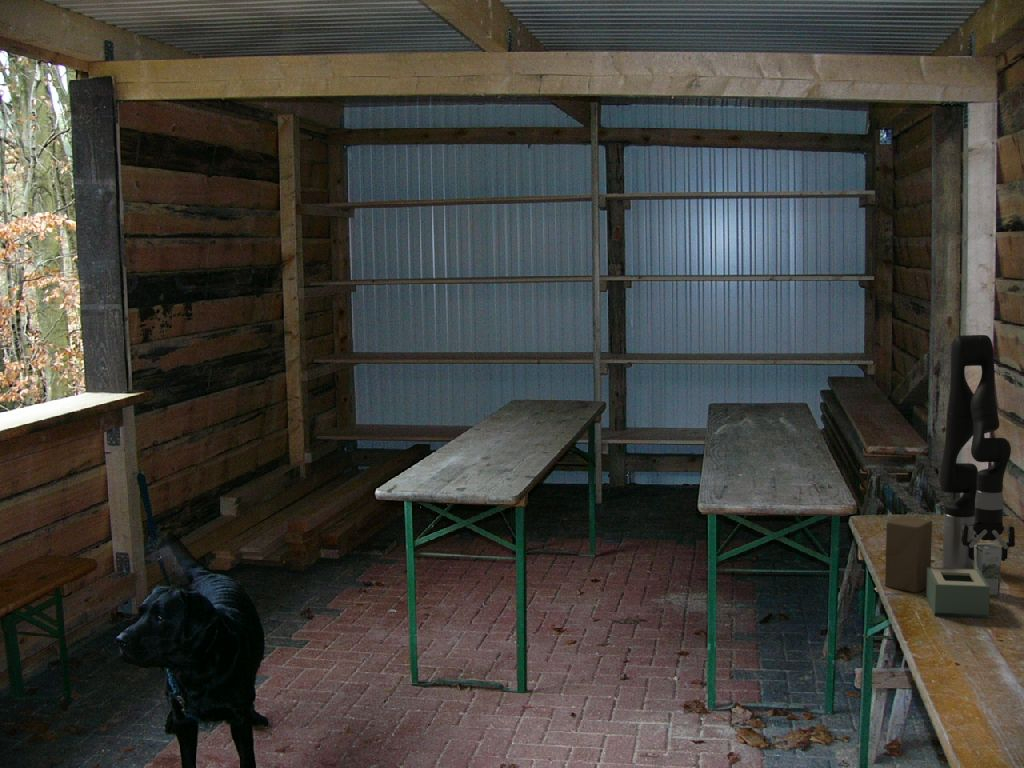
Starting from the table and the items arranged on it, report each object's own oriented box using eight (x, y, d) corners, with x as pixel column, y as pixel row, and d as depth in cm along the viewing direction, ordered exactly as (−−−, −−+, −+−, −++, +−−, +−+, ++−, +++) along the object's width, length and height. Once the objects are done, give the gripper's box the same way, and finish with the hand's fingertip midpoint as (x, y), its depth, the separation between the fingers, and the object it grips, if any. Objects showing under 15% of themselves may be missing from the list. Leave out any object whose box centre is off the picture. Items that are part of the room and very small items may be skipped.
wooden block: (884, 586, 338) (886, 521, 335) (898, 578, 345) (900, 515, 342) (916, 593, 331) (918, 527, 328) (930, 585, 338) (932, 520, 335)
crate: (926, 597, 328) (927, 567, 326) (977, 599, 325) (978, 569, 323) (934, 616, 312) (935, 584, 311) (988, 618, 309) (989, 586, 308)
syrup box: (990, 589, 333) (992, 542, 331) (1000, 596, 327) (1002, 547, 325) (971, 590, 333) (973, 542, 331) (980, 596, 327) (982, 548, 325)
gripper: (1012, 503, 328) (1010, 557, 330) (960, 502, 331) (959, 555, 333) (1018, 509, 321) (1016, 564, 323) (965, 508, 324) (963, 562, 326)
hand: (987, 560), depth 328 cm, fingers open, 8 cm apart
